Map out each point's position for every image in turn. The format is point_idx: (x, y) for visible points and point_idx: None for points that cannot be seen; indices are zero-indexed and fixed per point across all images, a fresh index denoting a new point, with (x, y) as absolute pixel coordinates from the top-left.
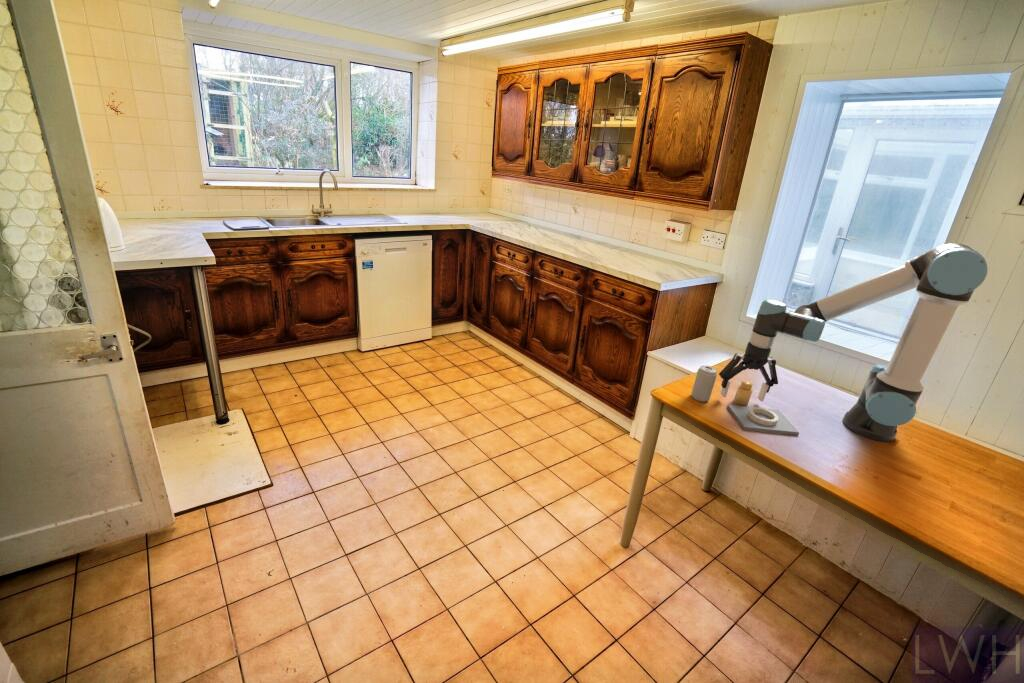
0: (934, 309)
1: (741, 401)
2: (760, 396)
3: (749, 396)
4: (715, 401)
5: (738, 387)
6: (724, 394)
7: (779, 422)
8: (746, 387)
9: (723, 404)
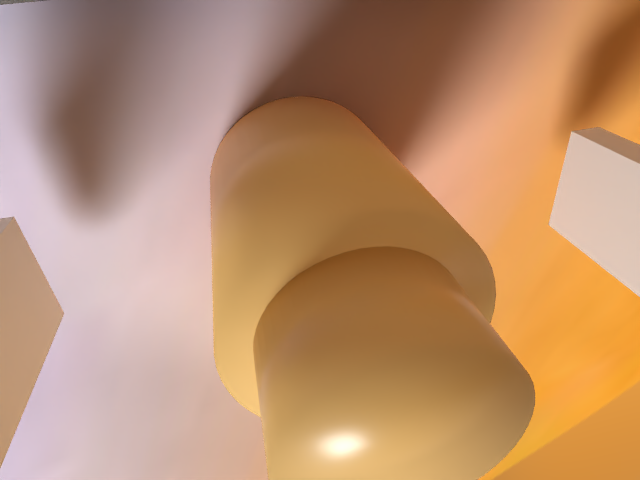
0: None
1: (349, 118)
2: (19, 303)
3: (261, 179)
4: (621, 92)
5: (483, 311)
6: (633, 144)
7: None
8: (434, 289)
9: (564, 40)
